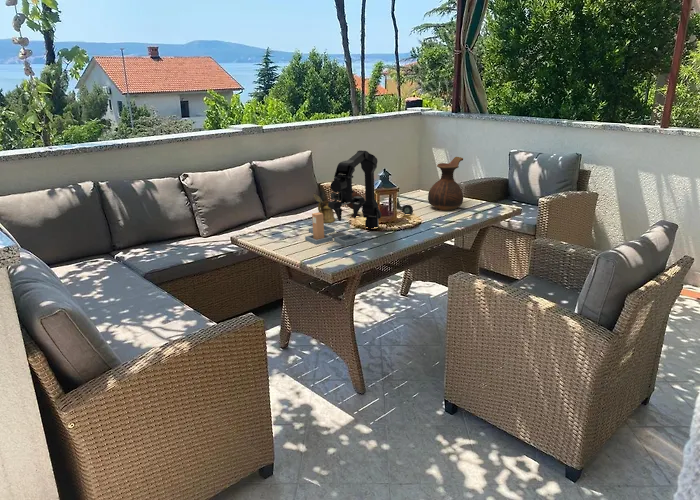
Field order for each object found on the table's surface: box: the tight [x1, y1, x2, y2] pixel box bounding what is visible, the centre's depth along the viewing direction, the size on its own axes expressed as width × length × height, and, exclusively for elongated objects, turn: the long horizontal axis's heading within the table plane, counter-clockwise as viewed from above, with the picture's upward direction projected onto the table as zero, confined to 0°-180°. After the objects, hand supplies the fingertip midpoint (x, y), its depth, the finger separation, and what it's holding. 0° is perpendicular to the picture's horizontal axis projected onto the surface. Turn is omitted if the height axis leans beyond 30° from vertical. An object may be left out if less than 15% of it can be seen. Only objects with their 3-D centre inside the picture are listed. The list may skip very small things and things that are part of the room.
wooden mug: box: [312, 192, 336, 224], centre depth 315 cm, size 9×14×18 cm, turn 134°
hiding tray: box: [304, 234, 334, 246], centre depth 282 cm, size 10×10×2 cm
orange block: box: [311, 211, 325, 240], centre depth 280 cm, size 4×4×14 cm
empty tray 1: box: [307, 224, 336, 235], centre depth 296 cm, size 10×10×2 cm
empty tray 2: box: [333, 233, 363, 247], centre depth 278 cm, size 10×10×2 cm
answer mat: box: [328, 232, 347, 240], centre depth 289 cm, size 9×9×1 cm
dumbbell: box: [396, 197, 414, 215], centre depth 336 cm, size 9×22×10 cm, turn 12°
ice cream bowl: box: [346, 191, 364, 218], centre depth 326 cm, size 11×11×15 cm
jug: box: [427, 156, 464, 212], centre depth 335 cm, size 22×22×30 cm
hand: (347, 219), depth 275 cm, fingers open, 9 cm apart
